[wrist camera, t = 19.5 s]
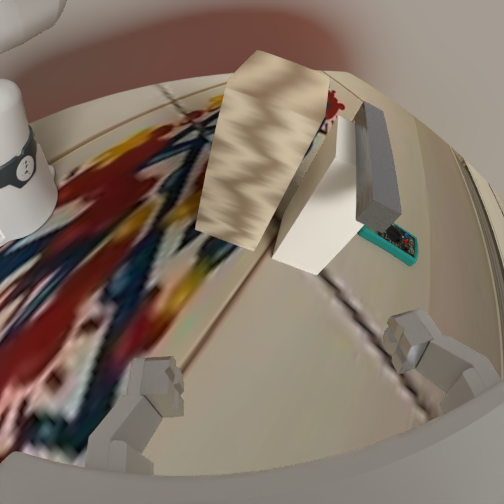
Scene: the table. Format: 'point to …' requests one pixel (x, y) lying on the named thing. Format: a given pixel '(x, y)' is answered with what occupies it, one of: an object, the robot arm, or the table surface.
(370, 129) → the rod
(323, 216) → the block
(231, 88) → the tall stand
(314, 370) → the table surface
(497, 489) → the robot arm
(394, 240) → the digital multimeter
